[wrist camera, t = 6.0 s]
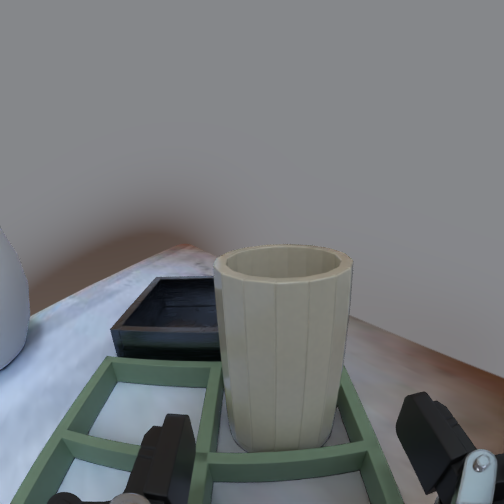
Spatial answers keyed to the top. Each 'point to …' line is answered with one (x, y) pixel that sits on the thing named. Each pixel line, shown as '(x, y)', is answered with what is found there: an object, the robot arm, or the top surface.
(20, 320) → the soap bottle
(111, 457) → the green divided tray
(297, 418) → the cup
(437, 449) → the robot arm
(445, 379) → the top surface
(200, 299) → the black tray
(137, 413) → the top surface
